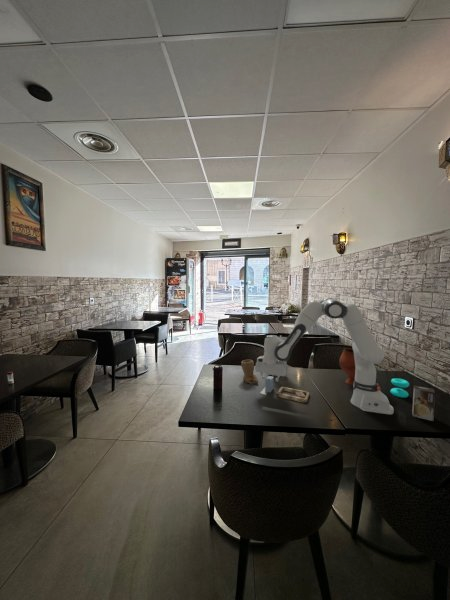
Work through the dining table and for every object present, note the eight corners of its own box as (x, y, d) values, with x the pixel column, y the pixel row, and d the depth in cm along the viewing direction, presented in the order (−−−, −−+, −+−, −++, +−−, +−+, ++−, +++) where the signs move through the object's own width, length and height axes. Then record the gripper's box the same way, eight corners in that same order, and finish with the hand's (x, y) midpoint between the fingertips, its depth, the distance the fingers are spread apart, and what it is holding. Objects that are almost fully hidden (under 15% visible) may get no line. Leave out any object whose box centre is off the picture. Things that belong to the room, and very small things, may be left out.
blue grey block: (273, 389, 171) (273, 376, 170) (270, 393, 165) (270, 380, 164) (268, 388, 173) (268, 375, 172) (265, 392, 166) (265, 379, 166)
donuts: (410, 380, 168) (407, 384, 161) (409, 395, 169) (406, 399, 162) (393, 376, 175) (389, 380, 168) (392, 390, 176) (388, 394, 169)
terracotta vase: (371, 390, 176) (373, 355, 174) (342, 387, 179) (344, 352, 177) (361, 379, 194) (363, 347, 193) (335, 377, 198) (337, 346, 196)
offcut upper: (302, 395, 162) (302, 392, 162) (305, 399, 156) (305, 396, 156) (295, 395, 162) (295, 392, 162) (298, 399, 156) (298, 396, 156)
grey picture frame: (432, 416, 142) (434, 388, 141) (433, 421, 136) (435, 393, 135) (411, 411, 147) (413, 384, 146) (412, 416, 142) (414, 388, 140)
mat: (278, 390, 172) (278, 389, 172) (273, 397, 161) (273, 396, 161) (265, 387, 176) (265, 386, 176) (259, 393, 165) (259, 393, 165)
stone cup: (240, 376, 195) (240, 357, 194) (255, 376, 196) (256, 357, 195) (241, 384, 180) (242, 363, 179) (258, 384, 181) (259, 364, 180)
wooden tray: (309, 397, 162) (309, 392, 162) (306, 405, 151) (306, 399, 151) (281, 391, 170) (281, 386, 170) (276, 398, 159) (276, 393, 159)
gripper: (287, 360, 165) (286, 381, 166) (257, 356, 175) (257, 375, 176) (285, 363, 160) (284, 384, 161) (254, 358, 169) (254, 378, 170)
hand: (269, 379), depth 168 cm, fingers open, 8 cm apart
